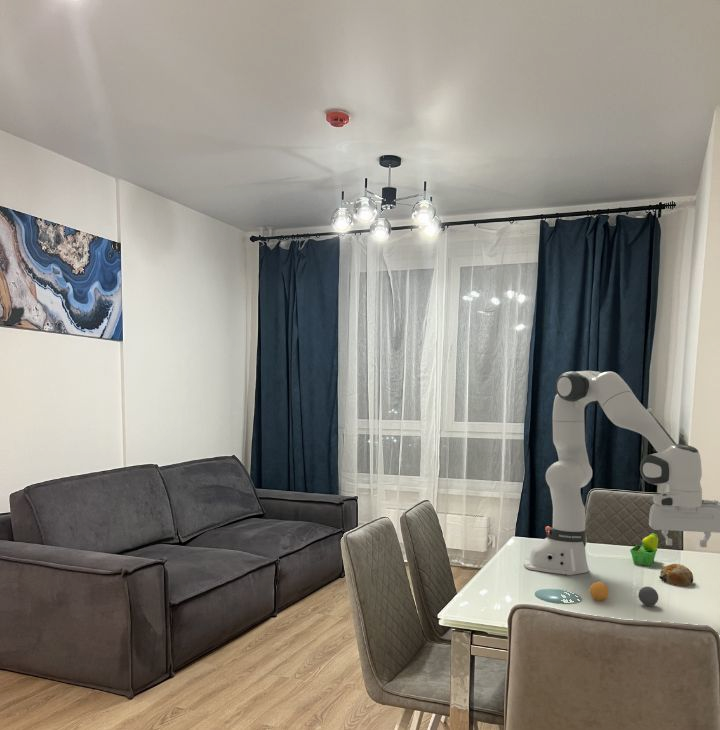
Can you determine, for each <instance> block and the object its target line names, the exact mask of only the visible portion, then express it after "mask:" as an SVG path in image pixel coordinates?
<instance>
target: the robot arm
mask: <svg viewBox="0 0 720 730" xmlns="http://www.w3.org/2000/svg"><path fill="white" fill-rule="evenodd" d="M555 390H556V395H555V396H554V401H553V407H552V443H553V446H554V447H555V449H556V450H555V451H556V452H557V457H558V461H555V462H554V463H551V465H550V466H548V468H547V469H546V472H545V481H546V483H547V485H548V487H549V491H550V492H549V493H550V496H551V502H552V526H551V527H550V526H549V525H548V526H545V529H544V530H545V532H546V537H545V538H544V539H542V540H541V541H539V542H537V543H536V544H535V545H533V547H532V548H531V550H530V555H529V557H527V558H525V559H524V561H523V566H524V568H526V569H527V570H531V571H539V572H545V573H550V574H551V573H552V574H559V575H565V574H566V576H574V575H578V574H586V573H588V572H589V571H590V569H589V565H588V560H587V556H586V555H587V553H586V546H587V530H586V526H585V525H586V507H585V505H584V502H583V500H582V494H581V492H582V491H581V489H582V488H584V487H585V486H587V485H588V484H589V482H590V481H591V479H592V478H593V469H592V467H591V465H590V461H589V456H588V452H587V447H586V432H585V431H586V429H585V427H586V426H585V408H586V406H587V405H588V404H591V405H594V404H597V403H599V406H600V408H601V409H602V410H603V412H604V414H605V415H606V417H607V419H608V420H610V422H611V423H612V424H614V425H615V426H616V427H619V428H622V429H627V430H630V431H632V432H635V433H638V434H640V435H642V436H643V437H645V439H647V440H648V441H649V443H650V444H651V445H652V447H653V448H654V450H655V451H656V452H655V453H652V454H647V455H645V456H644V457H643V458H642V459H641V461H640V465H639V471H640V474H641V477H642V478H643V480H644V481H645V482H647V483H648V484H651V485H654V486H660V485H666V486H667V485H668V491H666V492H663V493H659V494H656V495H653V496H652V501H653V504H652V505H651V506H650V508H649V515H648V516H649V517H648V525H649V527H650V528H651V529H652V530H654V531H661V534H662V536H663V537H664V538H665V545H666V546H672V547H673V539H672V538H669V537H668V534H669V531H674V532H696V533H703V535H704V537H703V538H702V539H699V547H700V548H707V547H708V546H707V545H708V543H707V542H708V541H709V539H710V538H711V535H712V533H715V534H720V501H718V500H709V499H703V488H702V486H701V481H702V480H701V479H702V475H703V473H702V471H703V470H702V458H701V454H700V452H699V450H698V448H696V447H694V446H691V445H689V444H681V443H676V442H675V440H674V439H673V438H672V437H671V435H670V434H669V432H667V430H666V429H665V427H664V426H663V425H662V424H661V423H660V422H659V420H658V419H657V418H656V417H655V416H654V415H653V414H652V413H650V412H649V410H647V409H646V407H645V406H643V404H642V403H641V402H640V401H639V399H638V398H637V397H636V394H634V392H633V391H632V388H630V387H629V385H628V383H627V382H625V380H624V379H623V378H622V377H621V376H620V375H619V374H618V373H616V372H614V371H604V372H602V371H593V370H581V371H580V370H578V371H566V372H563V373H561V374H560V375H559V377H558V378H557V379H556V384H555Z"/></svg>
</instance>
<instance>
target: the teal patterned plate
mask: <svg viewBox="0 0 720 730" xmlns="http://www.w3.org/2000/svg"><path fill="white" fill-rule="evenodd" d="M567 591H568V590H565V591H564V589H558V588H544V589H537V590H535V592H534V596H535V597H536V598H538V599H540V600H541V601H545V602H549V603H553V604H559V603H564V602H563V601H561V600H563V599H565V600H566V599H567V600H568V602H570V601H569V600H570V599H571V600H572V601H574V602H578V603H580V602H581V600H583V598H582V596H581V595H579V594H578V593H575V592H573V591H570V592H572V593H574V594H572V593H570V592H567ZM564 592H567V593H569V594H570V596H569V595H568V594H566V593H564ZM561 594H562V595H565V596H566V598H563V597H562V596H561ZM575 595H576V596H578V597H576V596H575ZM577 599H579V600H580V602H579V601H578V600H577Z"/></svg>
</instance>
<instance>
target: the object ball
mask: <svg viewBox="0 0 720 730" xmlns="http://www.w3.org/2000/svg"><path fill="white" fill-rule="evenodd" d="M609 592H610V591H609V588H608V586H607V585H606V584H605V583H603V582H601V581H596V582H593V583H592V584H591V585H590V587H589V594H590V596H591V597H592V598H593V599H594V600H595V601H597V602H604V601H605V600H607V598H608V597H609V594H610V593H609Z"/></svg>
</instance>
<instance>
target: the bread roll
mask: <svg viewBox="0 0 720 730" xmlns="http://www.w3.org/2000/svg"><path fill="white" fill-rule="evenodd" d="M659 574H660V575H659V579H660V580H661V581H662V582H663V581H664V582H663V583H665V582H666V584H668V583H669V585H672V584H673V585H672V586H679V587H689V585H691V587H692V586H693V585H694V584H693V583H694V575H693V572H692V571H691V570H690V568H688V567H687V566H685V565H683V564H680V563H671V564H669V565H665V567H664V568H663V569H661V570H660V573H659Z"/></svg>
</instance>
